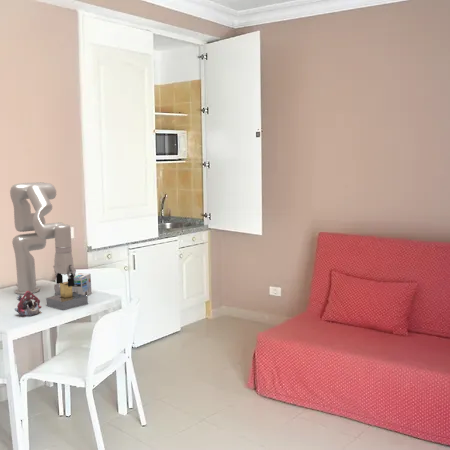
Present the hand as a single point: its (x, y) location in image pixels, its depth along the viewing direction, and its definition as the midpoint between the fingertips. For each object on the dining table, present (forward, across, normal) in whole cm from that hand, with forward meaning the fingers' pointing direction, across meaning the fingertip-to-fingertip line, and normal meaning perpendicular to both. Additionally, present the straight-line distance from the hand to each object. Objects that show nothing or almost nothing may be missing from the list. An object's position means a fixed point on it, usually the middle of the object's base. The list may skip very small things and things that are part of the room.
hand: (65, 284), depth 271 cm
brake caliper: (+10, 0, -20) cm, 23 cm away
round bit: (+10, -18, +9) cm, 23 cm away
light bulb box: (+11, -10, +16) cm, 22 cm away
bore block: (+10, +1, 0) cm, 10 cm away
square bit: (+10, +1, 0) cm, 10 cm away
